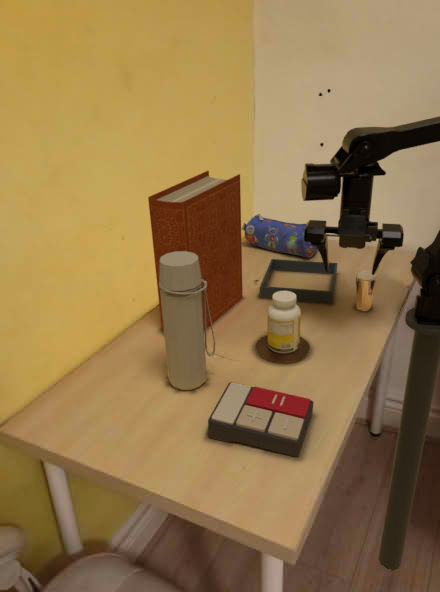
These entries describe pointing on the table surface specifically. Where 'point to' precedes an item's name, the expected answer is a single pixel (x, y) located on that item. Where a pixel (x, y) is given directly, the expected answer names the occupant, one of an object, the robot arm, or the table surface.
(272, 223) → the pencil case
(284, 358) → the coaster
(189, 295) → the water bottle
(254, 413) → the button control box
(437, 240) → the robot arm
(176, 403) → the table surface
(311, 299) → the dark grey square frame
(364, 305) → the milkshake
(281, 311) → the pill bottle
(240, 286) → the book
